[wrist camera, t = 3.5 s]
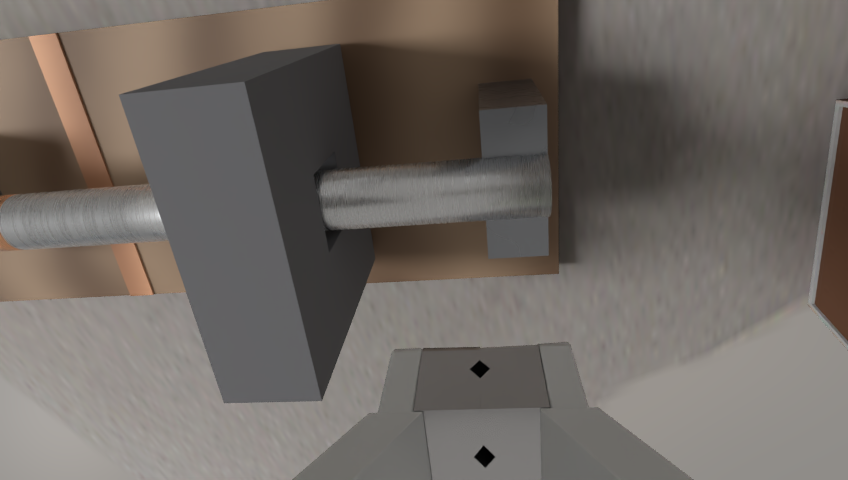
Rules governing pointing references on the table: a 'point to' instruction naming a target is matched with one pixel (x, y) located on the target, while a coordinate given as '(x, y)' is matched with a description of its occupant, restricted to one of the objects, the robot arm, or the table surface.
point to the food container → (833, 235)
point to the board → (245, 36)
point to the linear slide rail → (349, 192)
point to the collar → (258, 214)
